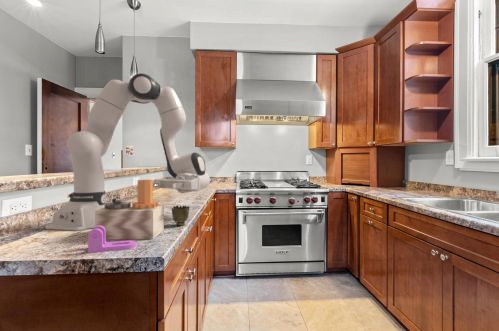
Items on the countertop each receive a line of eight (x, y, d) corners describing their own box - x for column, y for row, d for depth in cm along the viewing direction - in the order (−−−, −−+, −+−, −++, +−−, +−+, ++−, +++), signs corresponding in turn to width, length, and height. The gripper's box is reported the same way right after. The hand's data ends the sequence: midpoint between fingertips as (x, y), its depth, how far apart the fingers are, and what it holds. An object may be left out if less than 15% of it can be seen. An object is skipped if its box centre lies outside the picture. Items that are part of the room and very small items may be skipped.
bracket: (88, 253, 81) (88, 230, 81) (92, 247, 86) (92, 225, 86) (135, 249, 85) (135, 226, 85) (136, 244, 91) (136, 223, 90)
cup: (184, 228, 112) (184, 208, 112) (168, 226, 113) (168, 207, 113) (192, 223, 119) (192, 205, 119) (176, 223, 121) (176, 204, 121)
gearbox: (94, 239, 95) (94, 198, 95) (112, 229, 108) (112, 194, 108) (153, 239, 96) (153, 199, 96) (163, 229, 109) (163, 194, 108)
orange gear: (129, 206, 103) (129, 179, 102) (153, 204, 108) (153, 179, 108) (136, 209, 96) (136, 181, 95) (161, 207, 101) (161, 180, 101)
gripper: (166, 175, 127) (143, 176, 114) (203, 176, 118) (182, 178, 106) (166, 188, 127) (143, 191, 114) (203, 191, 118) (182, 194, 106)
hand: (162, 185), depth 110 cm, fingers open, 8 cm apart
